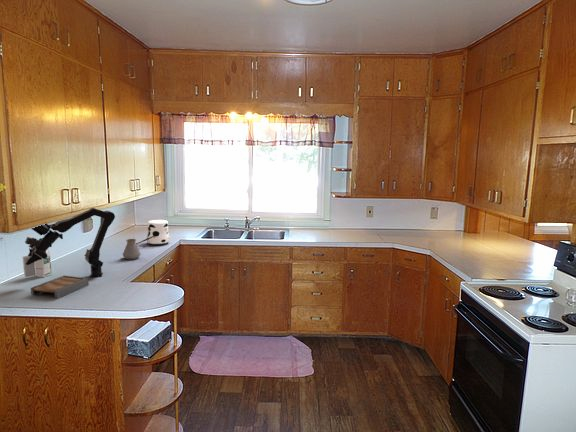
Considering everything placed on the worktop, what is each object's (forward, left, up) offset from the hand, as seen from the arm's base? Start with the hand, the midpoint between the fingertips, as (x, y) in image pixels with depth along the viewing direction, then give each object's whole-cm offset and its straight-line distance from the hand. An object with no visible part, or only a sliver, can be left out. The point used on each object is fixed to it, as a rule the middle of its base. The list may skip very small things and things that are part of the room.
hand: (25, 263), depth 213 cm
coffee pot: (-49, +54, -13) cm, 75 cm away
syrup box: (-21, +3, -13) cm, 25 cm away
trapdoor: (+10, +17, -12) cm, 23 cm away
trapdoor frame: (+9, +18, -13) cm, 24 cm away
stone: (-1, +1, -7) cm, 7 cm away
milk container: (-90, +67, -13) cm, 113 cm away
